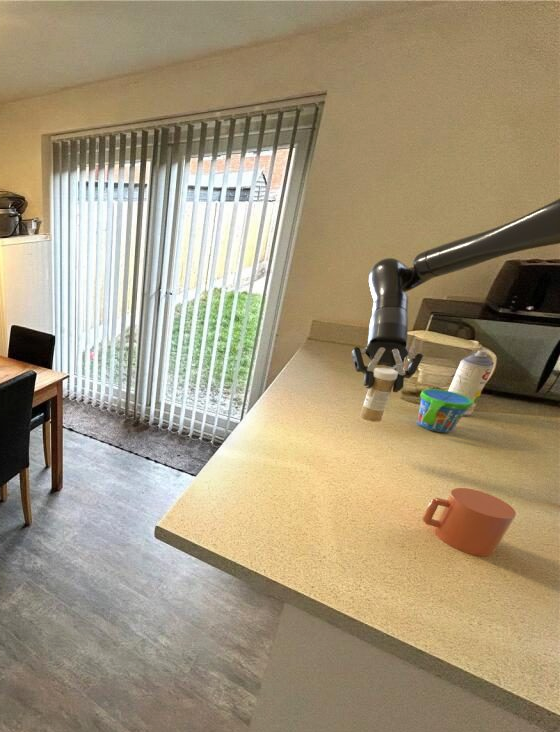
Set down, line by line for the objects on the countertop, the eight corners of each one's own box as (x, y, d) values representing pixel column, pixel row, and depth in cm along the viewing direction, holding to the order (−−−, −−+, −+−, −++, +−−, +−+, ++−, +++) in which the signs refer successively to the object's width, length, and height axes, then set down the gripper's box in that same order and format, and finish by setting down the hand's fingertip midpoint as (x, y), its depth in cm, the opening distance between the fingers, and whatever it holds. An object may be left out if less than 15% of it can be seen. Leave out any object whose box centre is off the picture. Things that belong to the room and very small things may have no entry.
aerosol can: (470, 418, 119) (499, 356, 111) (439, 411, 123) (465, 351, 116) (471, 411, 123) (499, 351, 115) (442, 404, 128) (466, 346, 120)
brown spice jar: (358, 412, 103) (374, 365, 98) (380, 417, 101) (397, 368, 95) (359, 419, 100) (375, 371, 94) (382, 424, 97) (399, 374, 92)
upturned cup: (483, 532, 77) (503, 496, 74) (502, 563, 71) (525, 524, 67) (413, 514, 82) (428, 479, 79) (424, 541, 75) (442, 504, 72)
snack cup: (426, 414, 122) (438, 384, 118) (470, 429, 113) (485, 397, 109) (397, 425, 116) (409, 394, 112) (441, 442, 107) (456, 409, 103)
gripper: (357, 318, 100) (351, 378, 95) (431, 324, 94) (428, 388, 89) (349, 333, 106) (342, 390, 102) (417, 339, 100) (414, 400, 95)
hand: (382, 388), depth 95 cm, fingers closed on brown spice jar, 4 cm apart
